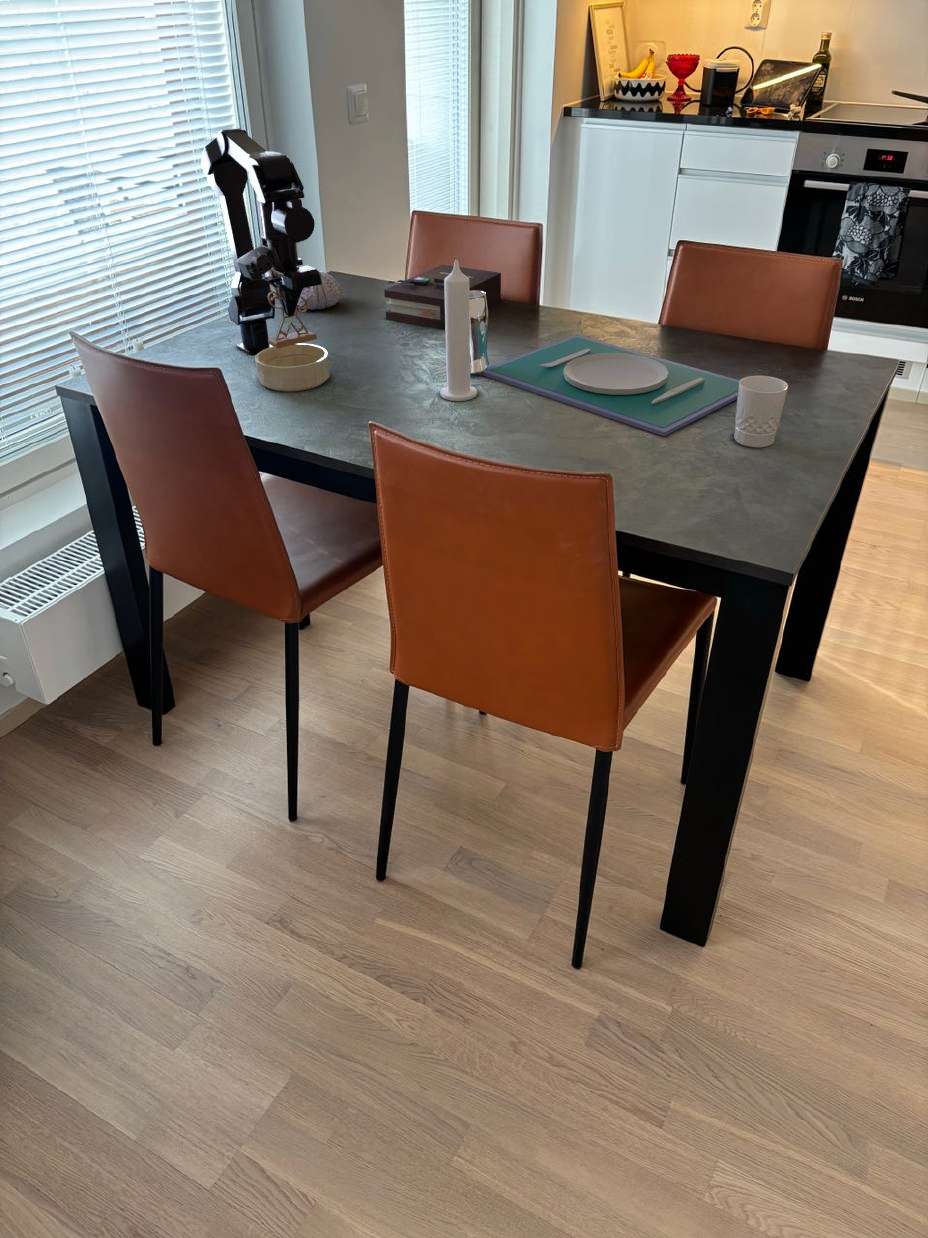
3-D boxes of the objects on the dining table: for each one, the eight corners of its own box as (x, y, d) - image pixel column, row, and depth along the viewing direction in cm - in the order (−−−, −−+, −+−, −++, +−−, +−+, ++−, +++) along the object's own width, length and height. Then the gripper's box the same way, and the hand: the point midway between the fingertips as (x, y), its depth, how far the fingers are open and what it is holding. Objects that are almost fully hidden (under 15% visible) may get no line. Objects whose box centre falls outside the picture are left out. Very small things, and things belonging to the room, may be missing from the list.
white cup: (724, 431, 164) (732, 376, 159) (768, 429, 165) (778, 374, 159) (739, 450, 158) (748, 393, 152) (784, 448, 158) (795, 391, 153)
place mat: (479, 373, 190) (479, 363, 188) (576, 337, 207) (576, 327, 206) (663, 436, 163) (665, 424, 162) (756, 388, 180) (758, 377, 179)
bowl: (246, 377, 190) (243, 353, 187) (308, 362, 197) (305, 338, 194) (279, 398, 181) (276, 372, 178) (343, 381, 188) (340, 356, 185)
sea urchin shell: (318, 315, 223) (315, 281, 219) (276, 307, 230) (272, 273, 225) (353, 301, 232) (351, 268, 228) (312, 293, 239) (308, 261, 234)
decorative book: (510, 267, 228) (444, 299, 207) (509, 298, 232) (445, 333, 211) (442, 258, 236) (373, 287, 215) (443, 288, 240) (376, 320, 219)
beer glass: (488, 374, 187) (483, 297, 179) (454, 375, 189) (447, 298, 181) (494, 364, 193) (489, 289, 185) (461, 365, 194) (455, 290, 187)
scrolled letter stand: (307, 334, 189) (300, 272, 182) (317, 338, 186) (310, 276, 180) (268, 343, 185) (259, 280, 178) (277, 348, 182) (269, 285, 175)
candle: (481, 389, 182) (481, 256, 168) (470, 403, 177) (468, 266, 163) (447, 386, 184) (444, 253, 170) (435, 399, 179) (430, 263, 165)
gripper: (217, 228, 176) (230, 312, 185) (263, 247, 164) (275, 335, 173) (270, 219, 181) (280, 301, 190) (319, 237, 169) (327, 323, 178)
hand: (289, 315), depth 183 cm, fingers closed on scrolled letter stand
